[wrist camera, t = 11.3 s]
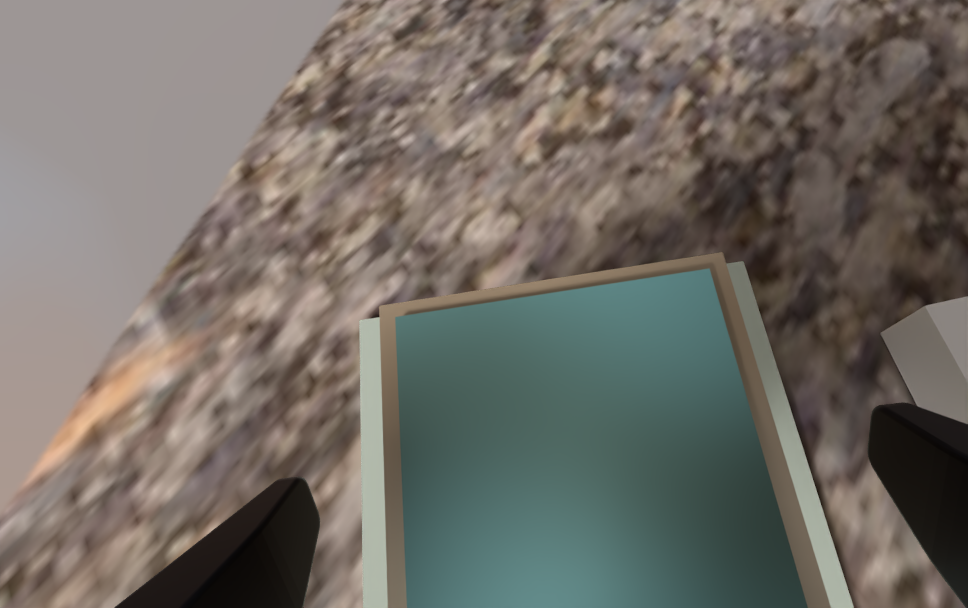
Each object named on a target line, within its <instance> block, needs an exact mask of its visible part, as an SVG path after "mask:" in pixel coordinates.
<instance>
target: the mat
mask: <svg viewBox="0 0 968 608" xmlns="http://www.w3.org/2000/svg"><path fill="white" fill-rule="evenodd" d="M726 265H727V268H728V271H729V274H730V278H731V281H732V284H733V287H734V291H735V294H736V297H737V301H738V304H739V307H740V310H741V314H742V317H743V320H744V324H745V327H746V330H747V333H748V337H749V340H750V343H751V347H752V350H753V353H754V356H755V360H756V363H757V366H758V370H759V373H760V376H761V379H762V383H763V386H764V389H765V393H766V396H767V399H768V402H769V406H770V409H771V412H772V416H773V419H774V422H775V425H776V429H777V432H778V435H779V438H780V442H781V445H782V448H783V452H784V455H785V458H786V461H787V465H788V468H789V471H790V475H791V478H792V481H793V484H794V488H795V491H796V494H797V498H798V501H799V504H800V507H801V511H802V514H803V517H804V521H805V524H806V527H807V530H808V534H809V537H810V540H811V544H812V547H813V550H814V553H815V557H816V560H817V563H818V566H819V570H820V573H821V576H822V580H823V583H824V586H825V589H826V593H827V596H828V599H829V603H830V606H831V608H854V607H853V604H852V600H851V597H850V594H849V591H848V588H847V585H846V582H845V578H844V575H843V572H842V569H841V566H840V563H839V560H838V556H837V553H836V550H835V547H834V544H833V541H832V538H831V534H830V531H829V528H828V525H827V522H826V519H825V516H824V512H823V509H822V506H821V503H820V500H819V497H818V494H817V490H816V487H815V484H814V481H813V478H812V475H811V472H810V468H809V465H808V462H807V459H806V456H805V453H804V450H803V447H802V443H801V440H800V437H799V434H798V431H797V428H796V425H795V421H794V418H793V415H792V412H791V409H790V406H789V403H788V399H787V396H786V393H785V390H784V387H783V384H782V381H781V377H780V374H779V371H778V368H777V365H776V362H775V359H774V355H773V352H772V349H771V346H770V343H769V340H768V337H767V333H766V330H765V327H764V324H763V321H762V318H761V315H760V311H759V308H758V305H757V302H756V299H755V296H754V293H753V289H752V286H751V283H750V280H749V277H748V274H747V271H746V267H745V264H744V261H740V262H734V263H727V264H726ZM359 321H360V400H361V479H362V557H363V608H388V598H387V562H386V527H385V492H384V457H383V422H382V387H381V351H380V317H378V318H371V319H365V320H359Z"/></svg>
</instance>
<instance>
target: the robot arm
mask: <svg viewBox="0 0 968 608" xmlns="http://www.w3.org/2000/svg"><path fill="white" fill-rule="evenodd" d="M868 457H869V460H870V463H871V465H872V467H873V469H874V471H875V472H876V474H877V475H878V477H879V479H880V480H881V482H882V484H883V485H884V487H885V488H886V490H887V492H888V493H889V495H890V497H891V498H892V500H893V501H894V503H895V505H896V506H897V508H898V510H899V511H900V513H901V514H902V516H903V518H904V519H905V521H906V523H907V524H908V526H909V527H910V529H911V531H912V532H913V534H914V536H915V537H916V539H917V540H918V542H919V544H920V545H921V547H922V548H923V550H924V551H925V553H926V554H927V556H928V557H929V559H930V560H931V562H932V563H933V565H934V566H935V567H936V569H937V570H938V571H939V573H940V574H941V576H942V577H943V578H944V580H945V581H946V582H947V583H948V585H949V586H950V587H951V589H952V590H953V591H954V593H955V594H956V595H957V597H958V598H959V599H960V601H961V602H962V603H963V605H964V606H965V607H966V608H968V424H966V423H963V422H960V421H957V420H954V419H952V418H949V417H946V416H943V415H940V414H938V413H935V412H932V411H929V410H926V409H923V408H921V407H918V406H915V405H912V404H909V403H894V404H886V405H879V406H877V407H875V408H874V410H873V411H872V415H871V422H870V432H869V441H868ZM319 528H320V517H319V512H318V510H317V507H316V504H315V502H314V499H313V497H312V494H311V491H310V489H309V486H308V484H307V482H306V480H305V479H304V478H302V477H291V478H282V479H279V480H277V481H275V482H274V483H273V484H271V485H270V486H269V487H268V488H266V489H265V490H264V491H263V492H261V493H260V494H259V495H257V496H256V497H255V498H254V499H252V500H251V501H250V502H248V503H247V504H246V505H245V506H243V507H242V508H241V509H240V510H238V511H237V512H236V513H234V514H233V515H232V516H231V517H229V518H228V519H227V520H226V521H224V522H223V523H222V524H220V525H219V526H218V527H217V528H215V529H214V530H213V531H211V532H210V533H209V534H208V535H206V536H205V537H204V538H203V539H201V540H200V541H199V542H197V543H196V544H195V545H194V546H192V547H191V548H190V549H189V550H187V551H186V552H185V553H183V554H182V555H181V556H180V557H178V558H177V559H176V560H174V561H173V562H172V563H171V564H169V565H168V566H167V567H166V568H164V569H163V570H162V571H160V572H159V573H158V574H157V575H155V576H154V577H153V578H152V579H150V580H149V581H148V582H146V583H145V584H144V585H143V586H141V587H140V588H139V589H137V590H136V591H135V592H134V593H132V594H131V595H130V596H129V597H127V598H126V599H125V600H123V601H122V602H121V603H120V604H118V605H117V606H116V607H115V608H303V606H304V601H305V597H306V592H307V587H308V582H309V577H310V572H311V568H312V563H313V558H314V553H315V548H316V543H317V538H318V534H319Z"/></svg>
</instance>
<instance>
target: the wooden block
mask: <svg viewBox="0 0 968 608" xmlns="http://www.w3.org/2000/svg"><path fill="white" fill-rule="evenodd" d="M379 316H380V351H381V387H382V422H383V457H384V492H385V527H386V562H387V598H388V608H831V606H830V603H829V599H828V596H827V593H826V589H825V586H824V583H823V580H822V576H821V573H820V570H819V566H818V563H817V560H816V557H815V553H814V550H813V547H812V544H811V540H810V537H809V534H808V530H807V527H806V524H805V521H804V517H803V514H802V511H801V507H800V504H799V501H798V498H797V494H796V491H795V488H794V484H793V481H792V478H791V475H790V471H789V468H788V465H787V461H786V458H785V455H784V452H783V448H782V445H781V442H780V438H779V435H778V432H777V429H776V425H775V422H774V419H773V416H772V412H771V409H770V406H769V402H768V399H767V396H766V393H765V389H764V386H763V383H762V379H761V376H760V373H759V370H758V366H757V363H756V360H755V356H754V353H753V350H752V347H751V343H750V340H749V337H748V333H747V330H746V327H745V324H744V320H743V317H742V314H741V310H740V307H739V304H738V301H737V297H736V294H735V291H734V287H733V284H732V281H731V278H730V274H729V271H728V268H727V265H726V261H725V258H724V255H723V252H719V253H713V254H707V255H700V256H694V257H688V258H681V259H675V260H669V261H662V262H656V263H649V264H643V265H637V266H630V267H624V268H618V269H611V270H605V271H599V272H592V273H586V274H580V275H573V276H567V277H560V278H554V279H548V280H541V281H535V282H529V283H522V284H516V285H510V286H503V287H497V288H490V289H484V290H478V291H471V292H465V293H459V294H452V295H446V296H440V297H433V298H427V299H421V300H414V301H408V302H401V303H395V304H389V305H382V306H379Z"/></svg>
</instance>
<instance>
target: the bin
mask: <svg viewBox="0 0 968 608" xmlns="http://www.w3.org/2000/svg"><path fill="white" fill-rule="evenodd" d="M880 334H881V336H882V338H883V340H884V342H885V344H886V346H887V348H888V350H889V352H890V354H891V356H892V358H893V360H894V361H895V363H896V365H897V367H898V369H899V371H900V373H901V375H902V377H903V379H904V381H905V383H906V385H907V387H908V389H909V391H910V393H911V395H912V397H913V399H914V401H915V403H916V405H917V406H918V407H921V408H923V409H926V410H929V411H932V412H935V413H938V414H940V415H943V416H946V417H949V418H952V419H954V420H957V421H960V422H963V423H966V424H968V296H966V297H962V298H958V299H953V300H949V301H944V302H940V303H935V304H931V305H926V306H924V307H922V308H920V309H919V310H917V311H916V312H914V313H912V314H911V315H909V316H907V317H906V318H904V319H902V320H901V321H899V322H897V323H896V324H894V325H893V326H891V327H889V328H888V329H886V330H884V331H883V332H881V333H880Z"/></svg>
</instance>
